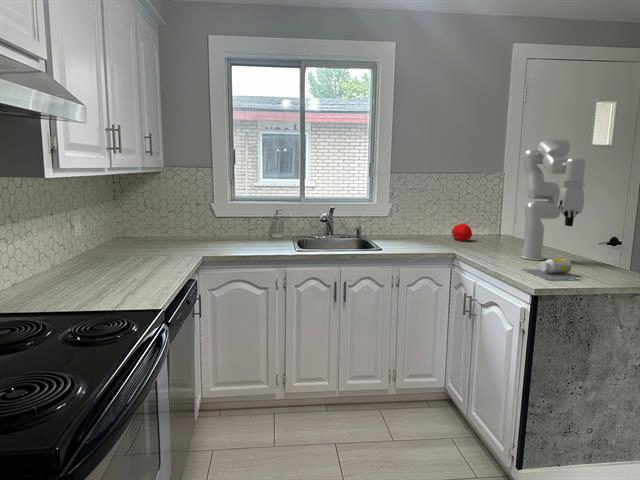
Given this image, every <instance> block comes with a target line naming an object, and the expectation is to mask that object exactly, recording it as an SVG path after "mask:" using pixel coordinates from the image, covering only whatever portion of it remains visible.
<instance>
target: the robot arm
mask: <svg viewBox="0 0 640 480" xmlns="http://www.w3.org/2000/svg"><path fill="white" fill-rule="evenodd" d="M570 151H571V145H570V142H569V141H568V140H566V139H560V138H559V139H558V138H557V139H555V138H554V139H553V138H550V139H549V138H546V139H544V140H541V141H540V142H539V144H538V146H537V148H530V149H527V150H526V151H524V153H523V156H522V164H523V165H522V166H523V169H524V172H525V174H526V190H527V191H526V192H527V197H528V198H529V199H532V200H531V201H529V202H527V203H526V204H525V206H524V215H525V216H524V217H525V218H524V219H525V221H524V223H525V225H524V234H523V245H522V249H520V252H521V254H518V255H519V256H518V257H519V258H520V259H523V260H529V261H543V260H545V256H543V255H542V254H543V243H544V234H545V226H544V223H543V222H542V221H541V220H555V219H558V218H559V217H560V215H561V214H563V216H564V218H565V219H564V226H567V227H573V226H574V225H573V224H574V221H575V219H574V218H576V216H577V215H579V214H582V212H583V211H582V210H583V209H584V204H585V191H584V187H585V185H586V184H585V183H584V179H585V173H586V172H585V171H586V163H587V162H586V159H585V158H582V157H567V156H568V155H569V153H570ZM538 165H543V169H544V170H546V172H547V173H549V174H551V175H552V174H553V175H564V180H563V181H564V182H563V188H561V190H560V186H559V184H558V183H556V182H553V181H545V178H544V172H543V170H542V169H541V167H539V166H538ZM545 200H546V201H545Z"/></svg>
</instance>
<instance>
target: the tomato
mask: <svg viewBox="0 0 640 480" xmlns="http://www.w3.org/2000/svg"><path fill="white" fill-rule="evenodd" d="M451 233H452V234H451V236H452V237H453V240H455V241H458V242H466V241H468V240H470V239H471V238H472V236H473V232H472V229H471V227H470V226H469V225H468V224H466V223H459V224H456V225H455V226H453V227H452V228H451Z"/></svg>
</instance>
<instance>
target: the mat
mask: <svg viewBox="0 0 640 480" xmlns="http://www.w3.org/2000/svg"><path fill="white" fill-rule="evenodd" d="M523 270H524V271H523ZM522 271H523V272H525V271H527V272H526V273H528V272H529V273H528V274H531V273H532V274H531V275H533V274H534V276H536V275H537V276H536V277H538V276H540V277H539V278H541V277H542V278H541V279H543V278H545V279H544V280H546V279H548V280H563V281H570V280H569V279H576V278H578V277H576V276H573V275H571V274H568V273H548V272H546V271H541V269H540V268H537V269H535V268H533V269H531V268H529V269H528V268H527V269H525V268H524V269H522ZM548 280H547V281H548Z"/></svg>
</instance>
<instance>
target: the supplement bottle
mask: <svg viewBox="0 0 640 480" xmlns="http://www.w3.org/2000/svg"><path fill="white" fill-rule="evenodd" d="M572 266H573V265H572V262H571V261H570V259H568V258H550V259H547V260H545V261H543V260H542V261H541V262H540V264H539V269H541V271H546V272H548V273H565V274H568V273H570V272H571V270H572Z"/></svg>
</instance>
